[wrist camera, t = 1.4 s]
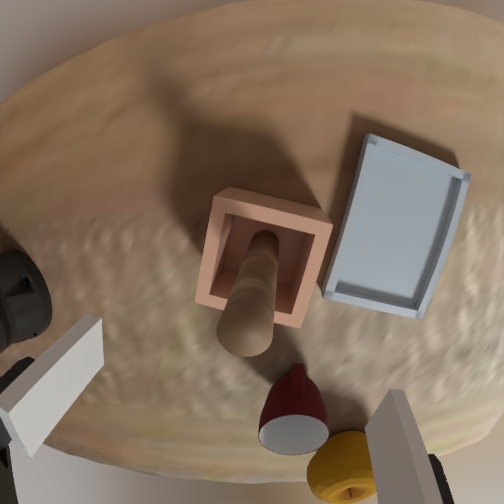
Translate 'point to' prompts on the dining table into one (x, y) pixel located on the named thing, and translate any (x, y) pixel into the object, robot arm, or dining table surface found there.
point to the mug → (294, 415)
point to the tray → (395, 229)
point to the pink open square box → (289, 257)
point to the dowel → (252, 299)
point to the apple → (342, 469)
